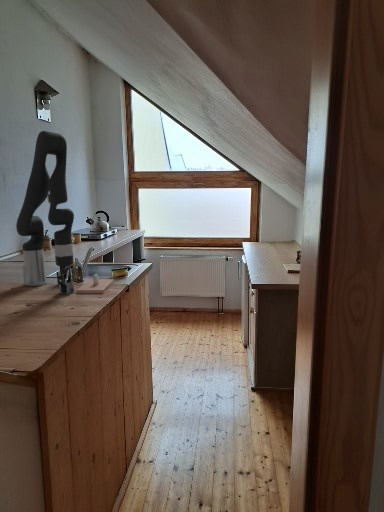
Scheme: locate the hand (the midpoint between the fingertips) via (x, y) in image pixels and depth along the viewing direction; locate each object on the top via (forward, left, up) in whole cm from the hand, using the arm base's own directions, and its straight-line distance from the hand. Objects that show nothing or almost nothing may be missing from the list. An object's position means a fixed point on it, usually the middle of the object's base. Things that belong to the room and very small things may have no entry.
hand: (66, 290), depth 161 cm
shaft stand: (+11, +8, -1) cm, 14 cm away
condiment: (-7, +19, -1) cm, 20 cm away
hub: (0, 0, -1) cm, 1 cm away
